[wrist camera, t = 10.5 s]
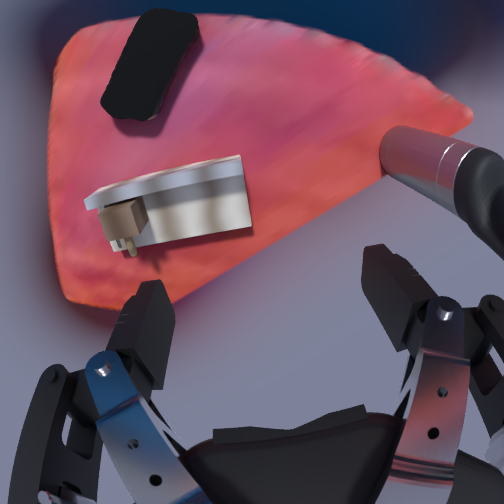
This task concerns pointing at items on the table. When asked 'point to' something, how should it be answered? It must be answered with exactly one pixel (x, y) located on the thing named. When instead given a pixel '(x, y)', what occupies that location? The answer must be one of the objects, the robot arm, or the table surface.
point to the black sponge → (149, 64)
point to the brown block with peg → (124, 221)
